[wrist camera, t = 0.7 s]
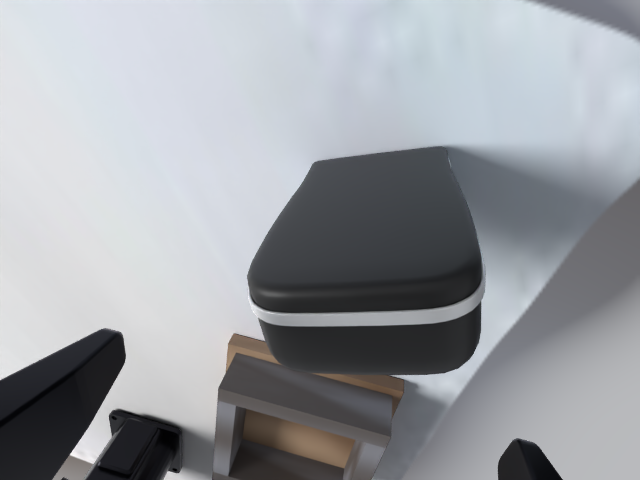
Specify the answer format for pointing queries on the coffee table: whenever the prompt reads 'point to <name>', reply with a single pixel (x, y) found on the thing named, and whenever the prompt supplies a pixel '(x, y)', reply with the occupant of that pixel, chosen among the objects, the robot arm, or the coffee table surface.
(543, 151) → the coffee table surface
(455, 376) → the coffee table surface
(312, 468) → the dock
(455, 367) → the battery charger
